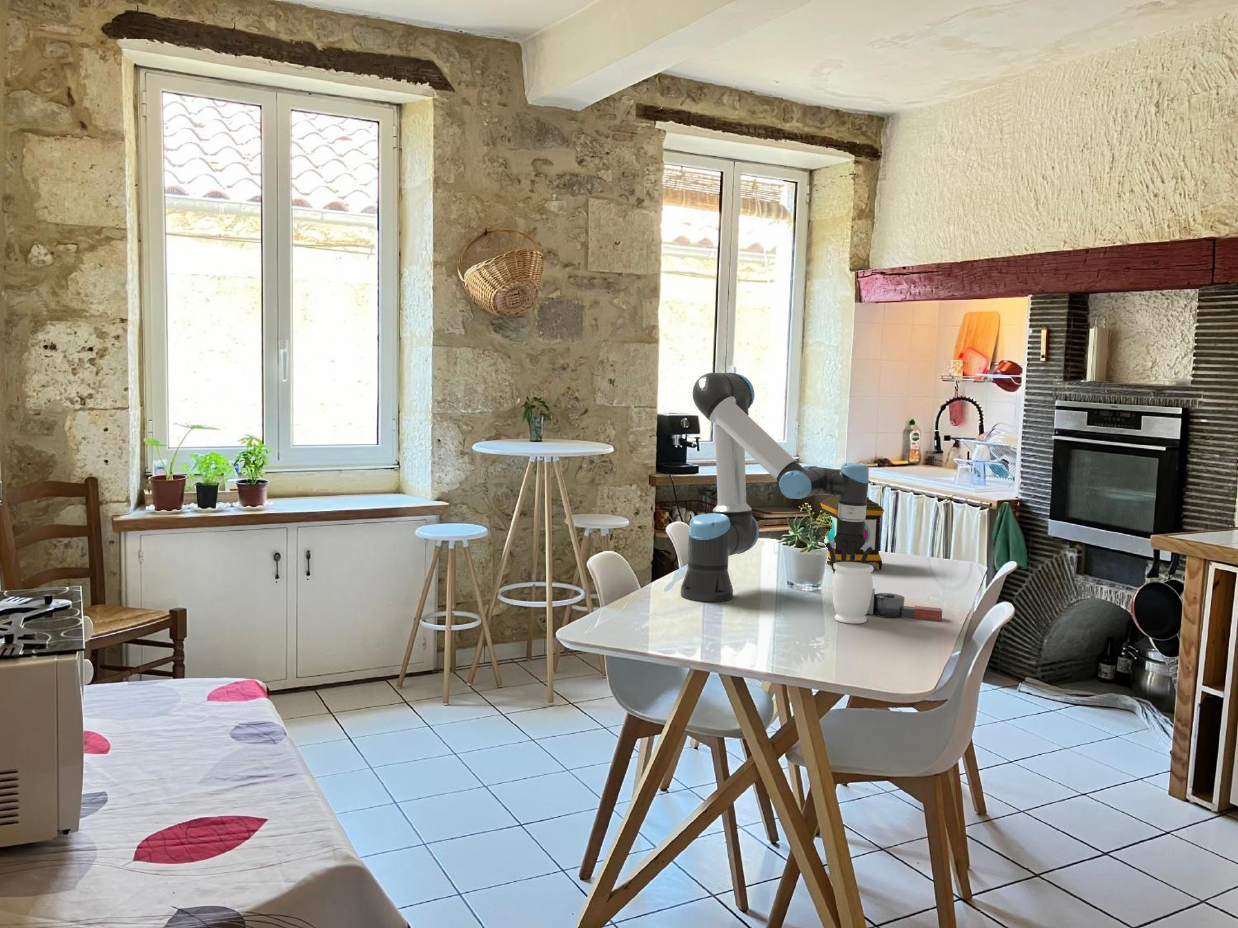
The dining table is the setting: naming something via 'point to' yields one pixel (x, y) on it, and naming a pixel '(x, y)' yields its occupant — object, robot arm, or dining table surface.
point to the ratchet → (902, 608)
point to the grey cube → (871, 603)
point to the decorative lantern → (870, 531)
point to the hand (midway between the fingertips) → (844, 603)
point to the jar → (852, 591)
